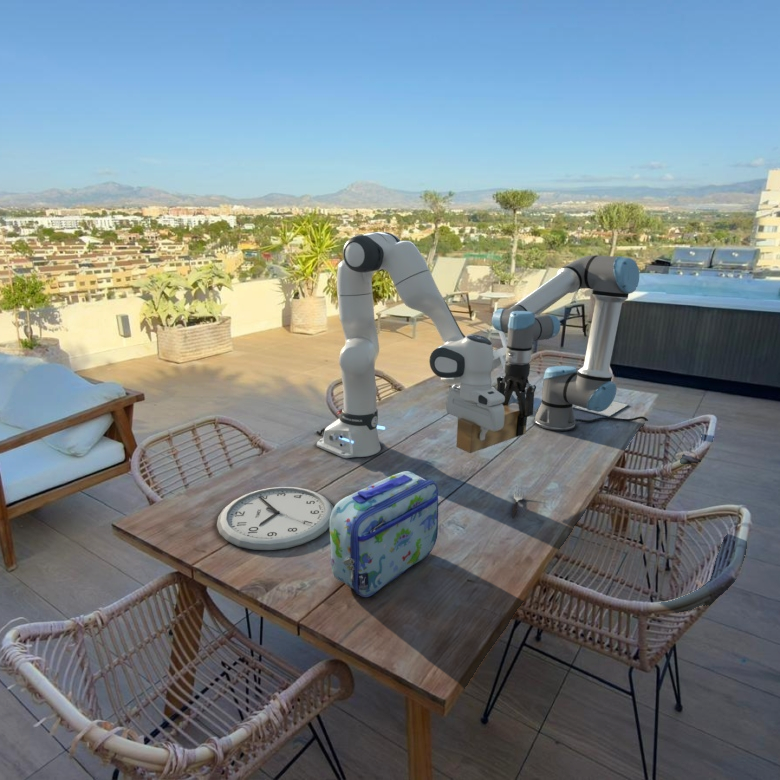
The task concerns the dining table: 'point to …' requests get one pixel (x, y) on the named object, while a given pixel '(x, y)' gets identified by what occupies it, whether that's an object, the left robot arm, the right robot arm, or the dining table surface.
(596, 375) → the right robot arm
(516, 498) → the fork
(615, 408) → the invitation card
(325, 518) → the wall clock
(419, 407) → the dining table surface
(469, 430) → the bar
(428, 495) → the lunch box
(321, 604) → the dining table surface
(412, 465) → the dining table surface
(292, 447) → the dining table surface
